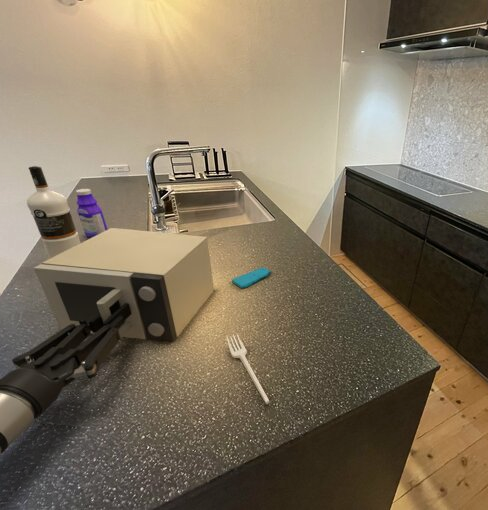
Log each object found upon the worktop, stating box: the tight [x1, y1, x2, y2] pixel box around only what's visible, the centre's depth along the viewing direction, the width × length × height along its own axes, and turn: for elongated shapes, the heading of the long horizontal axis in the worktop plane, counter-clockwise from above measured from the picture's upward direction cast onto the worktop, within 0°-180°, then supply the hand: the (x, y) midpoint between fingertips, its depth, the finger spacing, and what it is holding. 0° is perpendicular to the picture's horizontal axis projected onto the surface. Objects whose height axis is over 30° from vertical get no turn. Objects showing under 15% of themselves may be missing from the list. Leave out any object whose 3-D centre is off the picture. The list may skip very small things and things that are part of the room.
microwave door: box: [33, 263, 147, 340], centre depth 64 cm, size 7×20×17 cm, turn 87°
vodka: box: [26, 165, 82, 260], centre depth 88 cm, size 9×9×30 cm
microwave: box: [41, 227, 215, 343], centre depth 75 cm, size 22×26×17 cm
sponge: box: [231, 266, 272, 289], centre depth 95 cm, size 2×12×6 cm
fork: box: [226, 332, 271, 405], centre depth 64 cm, size 3×20×2 cm, turn 36°
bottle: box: [75, 188, 108, 239], centre depth 110 cm, size 7×6×17 cm
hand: (122, 308), depth 65 cm, fingers open, 2 cm apart
